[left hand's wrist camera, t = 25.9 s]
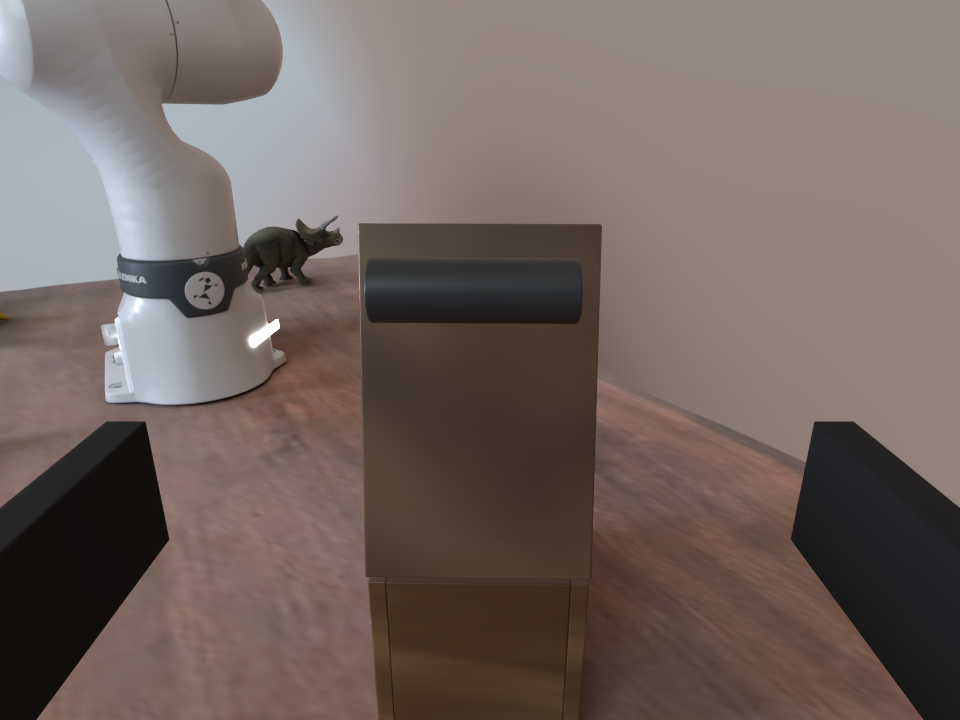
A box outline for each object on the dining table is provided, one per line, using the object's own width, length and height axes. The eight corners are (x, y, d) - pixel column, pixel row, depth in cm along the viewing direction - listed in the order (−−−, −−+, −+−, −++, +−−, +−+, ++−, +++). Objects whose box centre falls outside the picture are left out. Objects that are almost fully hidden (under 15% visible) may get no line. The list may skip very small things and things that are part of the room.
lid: (361, 224, 25) (293, 202, 16) (598, 225, 25) (655, 203, 16) (368, 568, 27) (311, 708, 18) (588, 571, 27) (633, 713, 18)
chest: (413, 550, 43) (408, 431, 40) (552, 551, 43) (558, 433, 39) (379, 735, 30) (367, 582, 27) (578, 739, 30) (589, 584, 27)
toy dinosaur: (223, 302, 100) (212, 228, 96) (204, 291, 106) (193, 222, 102) (348, 280, 113) (343, 215, 109) (325, 272, 119) (319, 210, 115)
